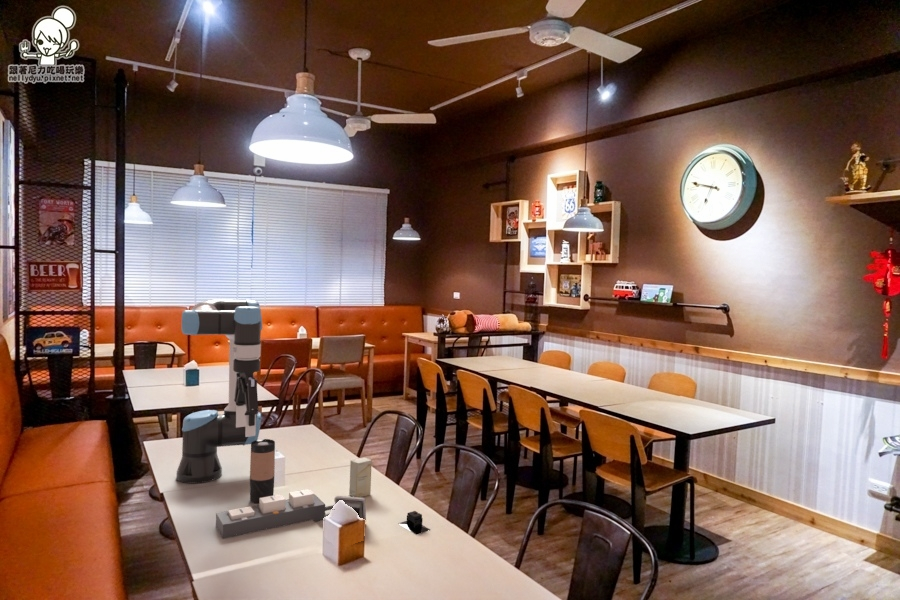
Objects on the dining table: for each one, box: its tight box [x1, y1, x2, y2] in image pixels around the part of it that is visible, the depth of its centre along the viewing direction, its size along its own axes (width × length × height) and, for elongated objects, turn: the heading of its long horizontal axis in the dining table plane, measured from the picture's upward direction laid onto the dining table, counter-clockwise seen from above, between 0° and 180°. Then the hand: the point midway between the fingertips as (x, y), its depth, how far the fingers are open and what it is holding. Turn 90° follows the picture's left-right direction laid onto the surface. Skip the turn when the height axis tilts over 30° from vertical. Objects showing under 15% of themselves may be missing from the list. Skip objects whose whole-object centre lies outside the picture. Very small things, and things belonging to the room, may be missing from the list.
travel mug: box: [249, 438, 276, 505], centre depth 189 cm, size 8×8×20 cm
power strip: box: [215, 493, 335, 539], centre depth 175 cm, size 9×36×5 cm, turn 124°
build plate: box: [397, 510, 431, 535], centre depth 176 cm, size 12×7×5 cm, turn 41°
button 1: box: [227, 505, 254, 520], centre depth 169 cm, size 4×6×5 cm
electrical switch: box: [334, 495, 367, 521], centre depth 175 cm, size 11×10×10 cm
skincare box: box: [348, 456, 373, 498], centre depth 199 cm, size 6×4×12 cm
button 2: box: [258, 494, 286, 514], centre depth 174 cm, size 4×6×5 cm
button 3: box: [288, 488, 315, 508], centre depth 179 cm, size 4×6×5 cm
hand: (245, 431), depth 174 cm, fingers open, 10 cm apart
